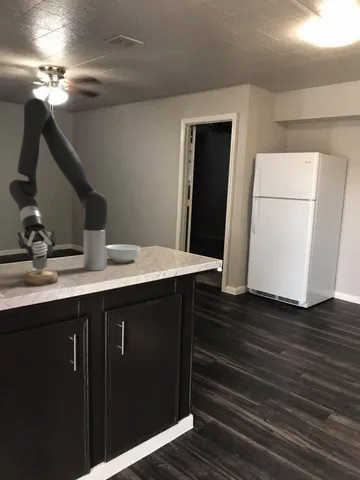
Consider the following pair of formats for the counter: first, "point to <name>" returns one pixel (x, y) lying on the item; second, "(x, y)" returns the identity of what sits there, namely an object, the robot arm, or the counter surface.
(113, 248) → the cereal bowl
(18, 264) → the counter surface
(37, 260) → the light bulb
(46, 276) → the bulb stand
